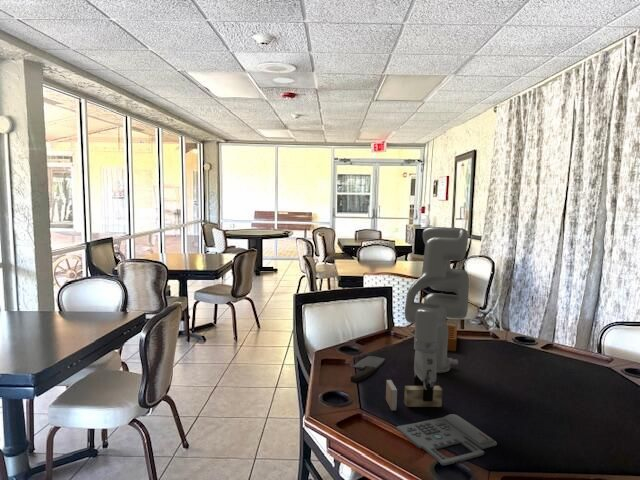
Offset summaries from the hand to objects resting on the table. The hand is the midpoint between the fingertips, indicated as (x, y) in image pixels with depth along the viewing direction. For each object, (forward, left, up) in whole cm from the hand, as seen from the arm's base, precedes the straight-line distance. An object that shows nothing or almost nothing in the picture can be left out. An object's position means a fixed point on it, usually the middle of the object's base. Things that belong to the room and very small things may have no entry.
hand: (422, 394), depth 141 cm
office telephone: (-1, +21, -5) cm, 21 cm away
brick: (-33, -68, -4) cm, 75 cm away
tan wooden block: (0, -1, -4) cm, 4 cm away
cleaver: (+14, -33, -4) cm, 35 cm away
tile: (+11, -1, -4) cm, 11 cm away
